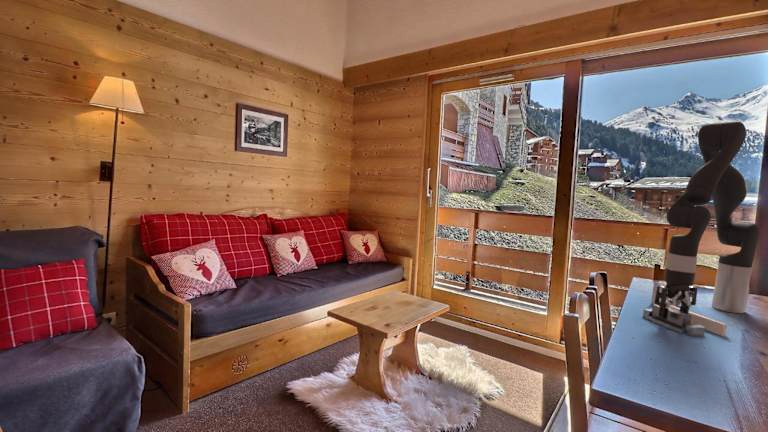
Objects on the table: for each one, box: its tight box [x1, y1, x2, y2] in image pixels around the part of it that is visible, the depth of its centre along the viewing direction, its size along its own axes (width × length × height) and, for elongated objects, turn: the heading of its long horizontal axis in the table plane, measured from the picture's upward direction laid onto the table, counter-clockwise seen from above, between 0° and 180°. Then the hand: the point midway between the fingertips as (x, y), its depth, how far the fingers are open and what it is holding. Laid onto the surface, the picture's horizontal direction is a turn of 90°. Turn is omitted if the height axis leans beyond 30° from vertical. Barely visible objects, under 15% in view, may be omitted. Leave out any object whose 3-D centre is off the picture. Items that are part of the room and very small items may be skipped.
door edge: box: [669, 305, 728, 337], centre depth 124 cm, size 2×18×4 cm, turn 15°
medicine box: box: [651, 281, 677, 307], centre depth 140 cm, size 8×4×9 cm, turn 168°
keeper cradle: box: [642, 308, 706, 337], centre depth 122 cm, size 8×16×2 cm, turn 16°
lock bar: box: [651, 304, 692, 332], centre depth 123 cm, size 4×10×5 cm, turn 16°
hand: (672, 318), depth 122 cm, fingers open, 8 cm apart
